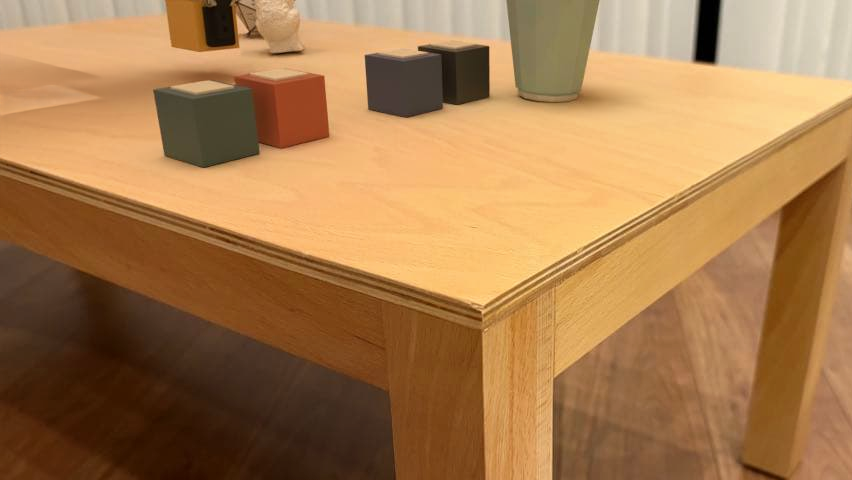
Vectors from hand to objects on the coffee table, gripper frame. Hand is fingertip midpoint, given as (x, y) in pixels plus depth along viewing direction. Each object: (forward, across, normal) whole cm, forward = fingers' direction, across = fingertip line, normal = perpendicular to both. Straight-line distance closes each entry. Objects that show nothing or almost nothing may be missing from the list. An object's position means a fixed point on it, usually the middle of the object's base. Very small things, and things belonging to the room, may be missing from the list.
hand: (204, 41), depth 92 cm
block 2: (+4, +27, -11) cm, 30 cm away
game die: (+3, -20, +23) cm, 31 cm away
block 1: (+4, +27, -18) cm, 33 cm away
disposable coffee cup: (+4, +34, +17) cm, 38 cm away
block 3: (+4, +27, +3) cm, 27 cm away
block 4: (+3, +27, +10) cm, 29 cm away
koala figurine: (+4, -7, +16) cm, 18 cm away
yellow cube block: (+1, 0, 0) cm, 1 cm away
